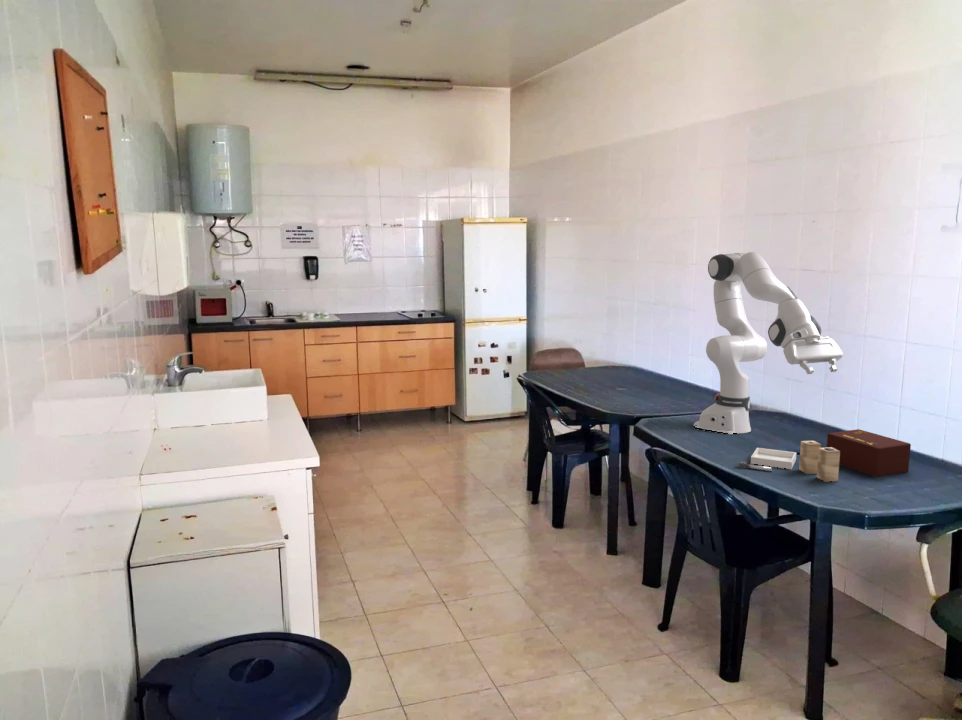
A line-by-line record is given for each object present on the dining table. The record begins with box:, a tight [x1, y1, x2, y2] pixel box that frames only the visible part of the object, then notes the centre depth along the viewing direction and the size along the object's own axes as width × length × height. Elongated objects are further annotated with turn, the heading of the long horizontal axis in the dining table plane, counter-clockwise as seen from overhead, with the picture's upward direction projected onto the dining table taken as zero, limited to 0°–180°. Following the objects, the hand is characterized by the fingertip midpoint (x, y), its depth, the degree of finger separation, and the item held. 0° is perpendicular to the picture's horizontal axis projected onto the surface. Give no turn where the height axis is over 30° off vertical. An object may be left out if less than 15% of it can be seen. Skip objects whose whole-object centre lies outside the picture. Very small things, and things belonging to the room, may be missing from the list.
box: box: [826, 428, 912, 478], centre depth 251 cm, size 21×16×10 cm
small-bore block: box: [798, 440, 822, 475], centre depth 244 cm, size 4×4×10 cm
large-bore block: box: [816, 446, 840, 483], centre depth 236 cm, size 4×4×10 cm
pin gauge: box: [738, 461, 773, 472], centre depth 248 cm, size 10×2×2 cm, turn 61°
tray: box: [750, 447, 797, 470], centre depth 256 cm, size 13×13×2 cm
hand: (822, 372), depth 247 cm, fingers open, 8 cm apart
